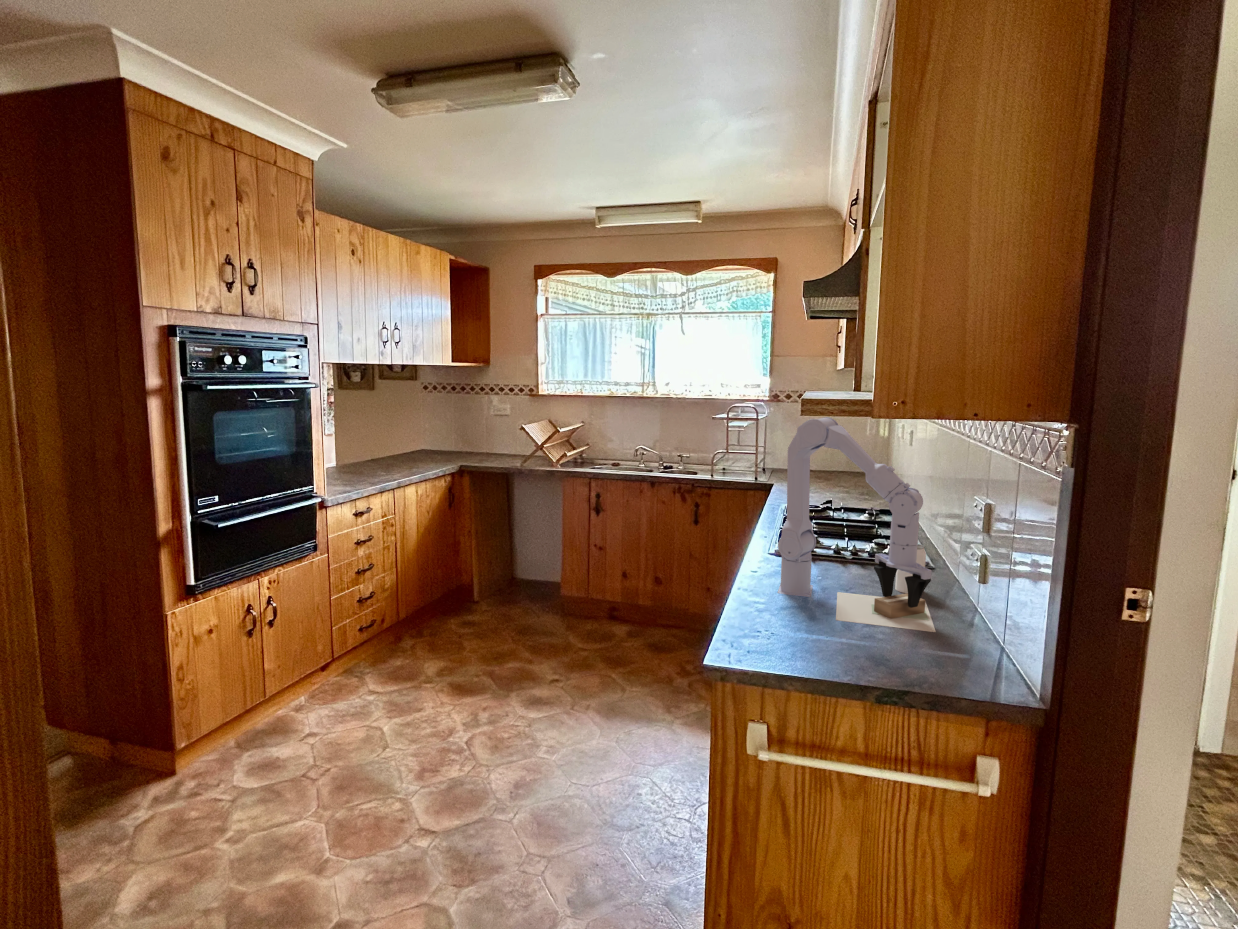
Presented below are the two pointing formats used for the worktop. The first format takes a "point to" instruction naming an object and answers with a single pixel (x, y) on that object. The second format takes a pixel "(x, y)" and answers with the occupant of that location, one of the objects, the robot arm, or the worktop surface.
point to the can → (901, 575)
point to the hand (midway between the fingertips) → (899, 601)
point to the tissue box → (897, 606)
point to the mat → (863, 612)
